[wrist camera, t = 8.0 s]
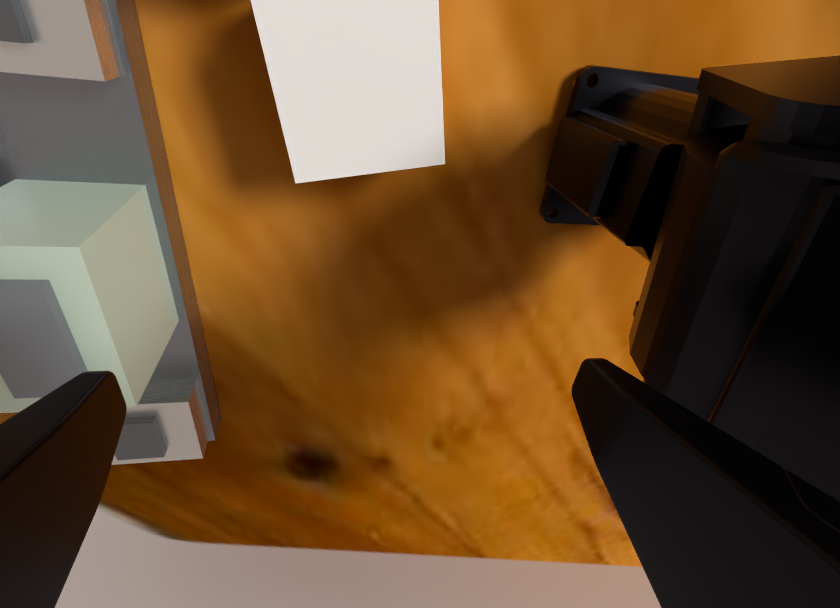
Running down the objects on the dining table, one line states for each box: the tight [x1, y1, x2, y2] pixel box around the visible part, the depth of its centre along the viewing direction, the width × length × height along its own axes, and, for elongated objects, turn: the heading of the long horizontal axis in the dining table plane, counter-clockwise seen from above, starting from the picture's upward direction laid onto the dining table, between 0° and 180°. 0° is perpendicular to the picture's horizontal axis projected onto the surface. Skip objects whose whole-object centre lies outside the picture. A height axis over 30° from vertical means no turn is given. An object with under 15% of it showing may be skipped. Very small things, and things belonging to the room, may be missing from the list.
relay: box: [251, 0, 445, 183], centre depth 14 cm, size 5×5×4 cm
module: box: [0, 179, 179, 413], centre depth 14 cm, size 4×6×5 cm, turn 174°
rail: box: [0, 0, 221, 465], centre depth 16 cm, size 6×22×3 cm, turn 174°
